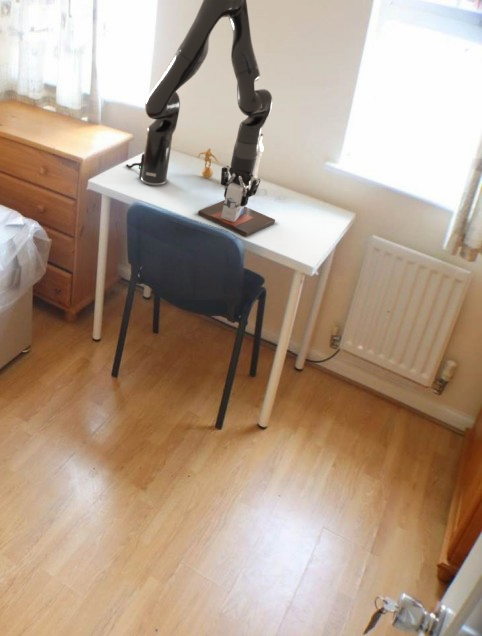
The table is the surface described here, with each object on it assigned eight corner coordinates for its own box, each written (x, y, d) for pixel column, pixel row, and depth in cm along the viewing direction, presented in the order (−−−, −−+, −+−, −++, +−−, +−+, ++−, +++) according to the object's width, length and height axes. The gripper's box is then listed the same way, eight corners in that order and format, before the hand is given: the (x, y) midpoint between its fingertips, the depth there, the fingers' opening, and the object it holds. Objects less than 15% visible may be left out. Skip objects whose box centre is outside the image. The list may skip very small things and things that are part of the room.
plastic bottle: (256, 191, 261) (268, 138, 250) (237, 189, 262) (248, 136, 251) (256, 184, 266) (267, 132, 255) (237, 182, 267) (248, 130, 256)
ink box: (229, 209, 243) (236, 177, 236) (244, 213, 241) (250, 181, 234) (220, 218, 237) (226, 185, 230) (234, 222, 235) (241, 189, 228)
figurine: (218, 179, 269) (224, 148, 262) (211, 184, 265) (217, 153, 258) (198, 173, 272) (203, 142, 266) (191, 178, 268) (196, 147, 262)
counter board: (197, 214, 243) (198, 210, 242) (226, 202, 252) (227, 198, 251) (245, 237, 231) (247, 232, 230) (274, 223, 240) (275, 219, 239)
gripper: (219, 149, 229) (210, 197, 238) (256, 163, 220) (246, 213, 230) (233, 144, 233) (224, 192, 242) (270, 158, 224) (259, 207, 234)
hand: (235, 202), depth 236 cm, fingers closed on ink box, 5 cm apart
